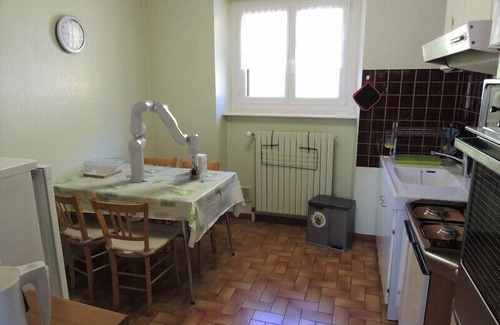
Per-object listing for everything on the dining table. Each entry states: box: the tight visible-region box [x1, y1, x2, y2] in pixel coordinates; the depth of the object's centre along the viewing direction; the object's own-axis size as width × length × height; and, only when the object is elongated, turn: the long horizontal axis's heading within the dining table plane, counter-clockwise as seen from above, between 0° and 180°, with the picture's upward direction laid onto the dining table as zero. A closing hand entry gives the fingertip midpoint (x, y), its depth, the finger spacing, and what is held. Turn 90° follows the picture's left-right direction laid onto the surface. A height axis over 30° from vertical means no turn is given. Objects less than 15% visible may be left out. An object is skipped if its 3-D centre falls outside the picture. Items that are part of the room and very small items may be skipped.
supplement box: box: [197, 153, 208, 174], centre depth 281 cm, size 9×9×15 cm
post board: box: [172, 174, 206, 183], centre depth 263 cm, size 22×18×6 cm
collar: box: [188, 169, 201, 180], centre depth 261 cm, size 7×7×6 cm
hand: (194, 173), depth 261 cm, fingers open, 9 cm apart
